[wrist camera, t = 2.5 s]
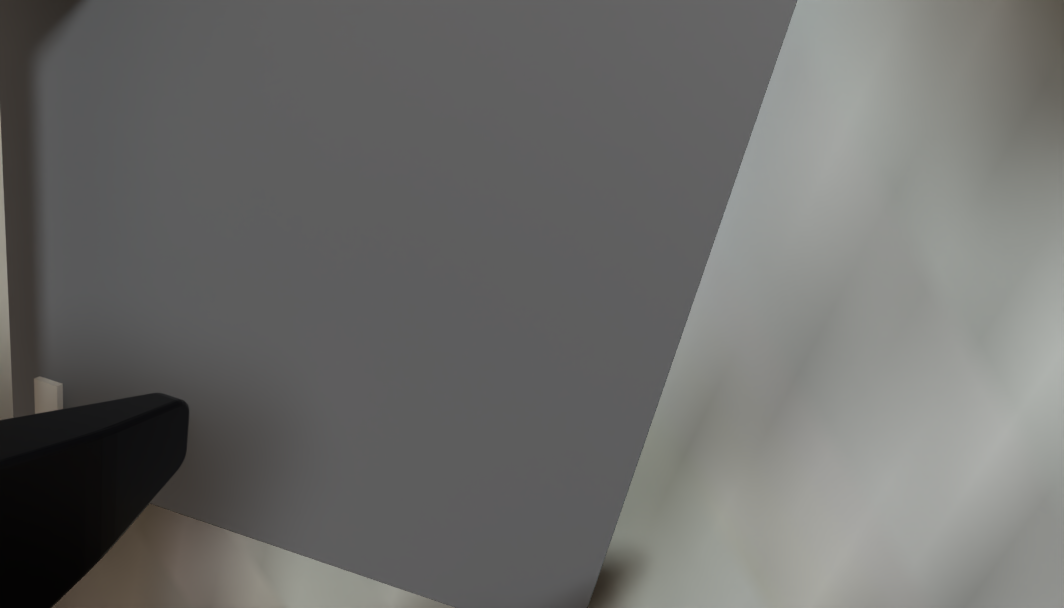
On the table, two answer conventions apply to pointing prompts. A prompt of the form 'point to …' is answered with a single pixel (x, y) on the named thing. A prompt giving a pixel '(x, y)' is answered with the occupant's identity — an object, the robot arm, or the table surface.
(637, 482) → the table surface
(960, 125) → the table surface
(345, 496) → the grey flat square plate
